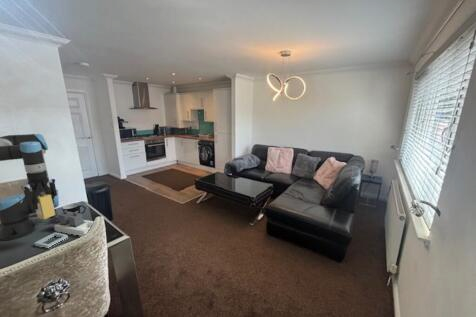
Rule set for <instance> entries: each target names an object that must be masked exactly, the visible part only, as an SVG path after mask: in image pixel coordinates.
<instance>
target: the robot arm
mask: <svg viewBox="0 0 476 317" xmlns="http://www.w3.org/2000/svg"><path fill="white" fill-rule="evenodd" d="M48 150H49V148H48V144H47V141H46V139H45V137H44V135H43V134H41V133H31V134H28V133H27V134H9V135H2V136H0V162H3V161H12V160H22V161H23V167H24V170H25V173H26V174H25V175H26V179H27V184H25V185H23V186H21V189H22V191H23V193H17V194H12V195H10V196H9V195H8V196H6V197H3V198H2V199H0V240H1V241H12V240H16V239H20V238H23V237H26V236H27V235H29V234H32V233H33V232H35V231H36V230H37V224H36V223H35V221H34V220H33V219H32V218H31V216H30V215H32V214H36V215H37V214H38V215H42V212H41V208H40V204H39V203H37V201H38V196H40V194H39V193H41V192H44V194H48V195H51V198H52V202H53V207H54V209H55V208H58V207H59V205H60V204H59V202H60V201H59V189H57V187H56V184H55V183H56V179H54V178H49V177H50V176H49V173H48V169H47V164H46V160H45V154H46V153H47V152H46V151H48ZM30 189H31V190H30ZM38 215H37V216H38Z"/></svg>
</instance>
